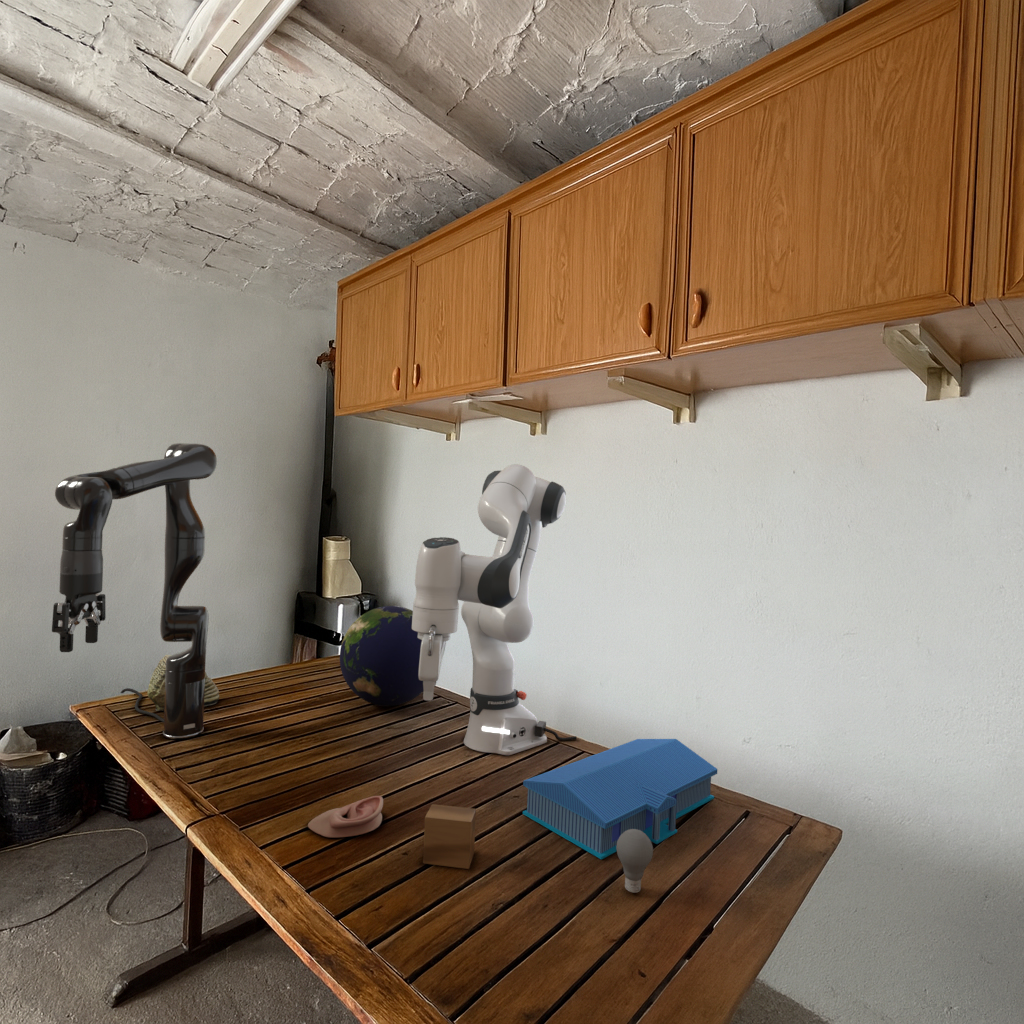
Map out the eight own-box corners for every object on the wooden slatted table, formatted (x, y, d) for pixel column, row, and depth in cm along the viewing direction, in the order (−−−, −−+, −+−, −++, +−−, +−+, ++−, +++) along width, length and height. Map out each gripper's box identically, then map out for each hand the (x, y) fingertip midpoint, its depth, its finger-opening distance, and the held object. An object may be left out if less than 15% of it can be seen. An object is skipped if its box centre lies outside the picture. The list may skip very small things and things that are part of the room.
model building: (615, 867, 112) (618, 811, 112) (520, 812, 130) (523, 764, 130) (727, 803, 138) (730, 758, 138) (636, 765, 157) (638, 725, 156)
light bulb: (610, 879, 108) (613, 822, 108) (644, 879, 109) (647, 822, 109) (619, 902, 102) (622, 840, 102) (655, 901, 103) (658, 840, 103)
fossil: (144, 707, 182) (145, 655, 182) (212, 696, 194) (213, 647, 194) (151, 716, 175) (153, 662, 175) (221, 703, 188) (223, 653, 188)
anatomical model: (300, 812, 119) (329, 785, 130) (299, 833, 119) (328, 804, 130) (365, 822, 116) (390, 794, 127) (365, 843, 116) (389, 814, 127)
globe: (316, 709, 186) (320, 608, 186) (375, 684, 214) (378, 595, 214) (403, 727, 175) (408, 619, 175) (453, 698, 203) (457, 604, 202)
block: (468, 869, 110) (471, 821, 110) (422, 863, 111) (424, 816, 111) (474, 853, 115) (476, 808, 115) (429, 848, 116) (431, 803, 116)
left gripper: (79, 575, 127) (76, 655, 127) (118, 568, 141) (116, 640, 142) (40, 574, 127) (37, 654, 127) (84, 566, 141) (81, 639, 141)
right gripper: (449, 632, 113) (443, 709, 113) (452, 613, 133) (448, 679, 133) (413, 630, 113) (408, 707, 113) (422, 611, 133) (418, 677, 133)
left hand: (79, 647), depth 134 cm, fingers open, 8 cm apart
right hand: (429, 692), depth 123 cm, fingers open, 8 cm apart
